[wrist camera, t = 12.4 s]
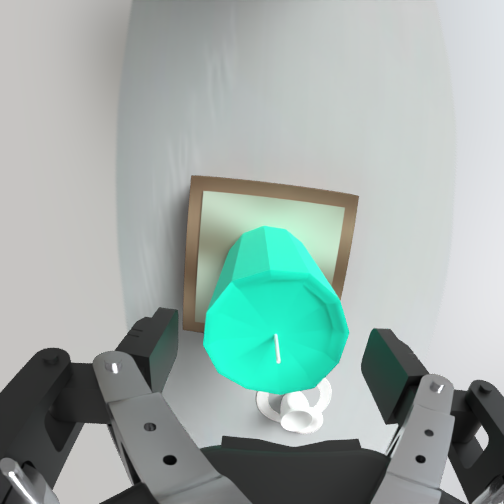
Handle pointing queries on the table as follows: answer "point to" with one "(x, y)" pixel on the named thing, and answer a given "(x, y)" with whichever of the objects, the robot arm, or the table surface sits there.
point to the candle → (274, 316)
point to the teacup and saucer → (297, 409)
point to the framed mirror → (254, 216)
